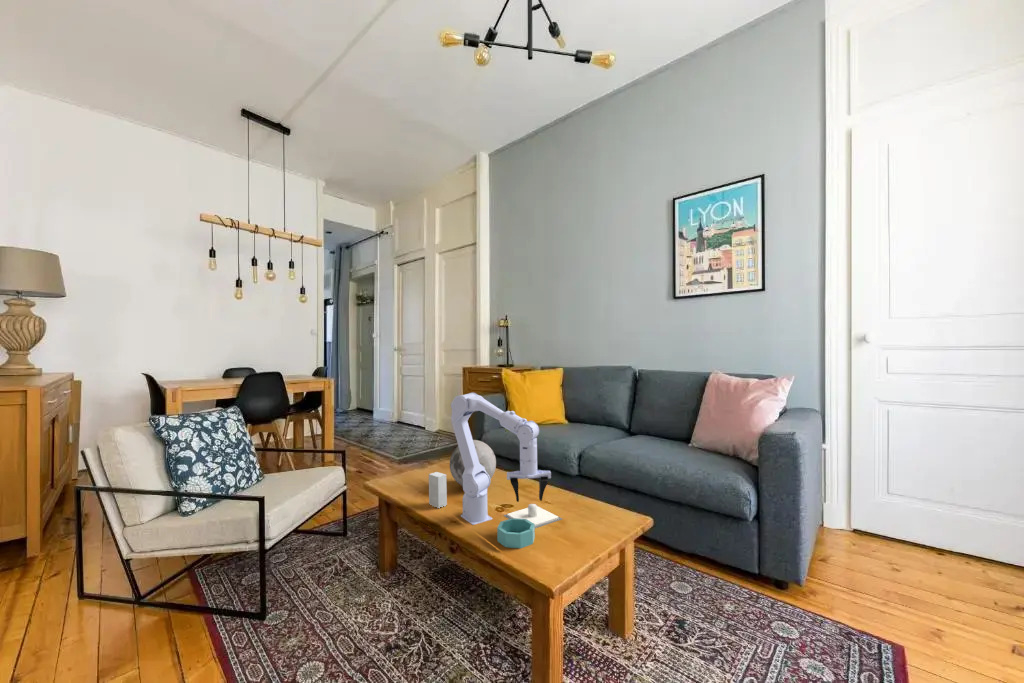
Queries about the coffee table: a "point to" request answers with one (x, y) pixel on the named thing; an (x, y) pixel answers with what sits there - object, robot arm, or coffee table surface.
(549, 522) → the mat
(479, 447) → the moon model
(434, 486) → the skincare box
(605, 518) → the coffee table surface
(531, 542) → the bowl
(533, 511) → the lid
